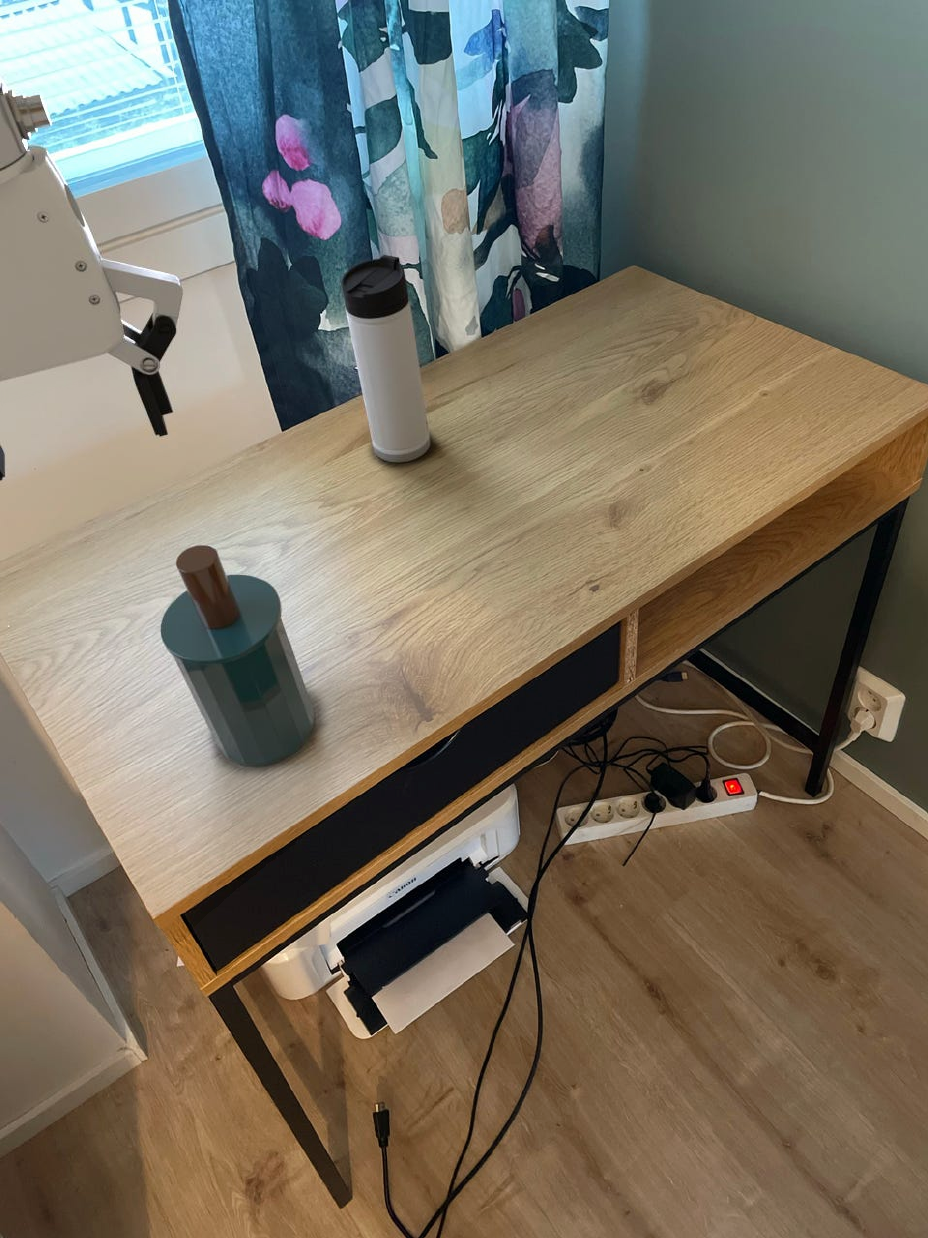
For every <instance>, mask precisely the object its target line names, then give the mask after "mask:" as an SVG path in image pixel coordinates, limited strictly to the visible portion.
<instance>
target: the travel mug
mask: <svg viewBox="0 0 928 1238" xmlns="http://www.w3.org/2000/svg"><path fill="white" fill-rule="evenodd" d="M406 279H407V278H406V272H405V267H404V266H403V264H402V263H401V261H400V257H398V256H394V255H388V254H383V255H381V256H379V258H373V259H369V260H365V261H362V262H360V263H358V264H356V265H354V266H353V267H351V268H350V269H348V270H347V271H346V272H345V273H344V274H343V276H342V278H341V281H340V286H341V292H342V297H343V300H344V306H345V313H346V319H347V323H348V329H349V333H350V334H349V335H350V339H351V343H352V344H351V345H352V348H353V352H354V359H355V363H356V369H357V374H358V379H359V383H360V387H361V388H360V389H361V392H362V398H363V402H364V403H363V404H364V406H365V407H364V408H365V412H366V417H367V423H368V427H369V431H370V436H371V442H372V447H373V452H374V453H375V455H376V456H377V457H378V458H379V459H381V460H383V461H386V462H390V463H407V462H411V461H413V460H416V459H418V458H420V457H422V456H423V455H424V454H425V453H426V452H427V451H428V450H429V449H430V446H431V437H430V431H429V430H430V429H429V424H428V422H429V421H428V416H427V409H426V402H425V396H424V390H423V382H422V377H421V367H420V362H419V355H418V350H417V349H418V347H417V342H416V336H415V329H414V322H413V313H412V308H411V302H410V297H409V292H408V286H407V280H406Z"/></svg>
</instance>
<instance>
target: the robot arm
mask: <svg viewBox="0 0 928 1238" xmlns="http://www.w3.org/2000/svg"><path fill="white" fill-rule="evenodd" d="M52 125H53V124H52V121H51V118H50V115H49V112H48V110H47V106H46V104H45V101H44V99H43V97H42V94H40V93H39V94H35V95H29V96H25V94H24V93H21V94H18V95H16V93H15V91H14V90H13V89H10V90H8V89H7V86H6V84H5V81H4V79H2V78H1V76H0V382H3V381H8V380H12V379H16V378H21V377H24V376H28V375H31V374H36V373H40V372H43V371H44V372H45V371H47V370H51V369H55V368H59V367H63V366H67V365H70V364H75V363H78V362H82V361H85V360H86V361H87V360H90V359H94V358H97V357H100V356H102V355H105V354H109V355H111V356H113V357H114V358H116V359H118V360H120V361H121V362H123V363H125V364H126V365H128V366H130V369H131V372H132V377H133V381H134V385H135V387H136V389H137V392H138V395H139V397H140V400H141V402H142V405H143V407H144V409H145V413H146V415H147V418H148V420H149V422H150V425H151V428H152V430H153V432H154V434H155V436H159V437H160V438H161V437H164V436H168V435H169V433H168V429H167V425H166V421H165V417H164V416H165V415H169V414H173V413H174V410H173V407H172V403H171V400H170V397H169V395H168V392H167V390H166V387H165V385H164V382H163V378H162V376H161V372H160V368H161V361H162V360H163V358H164V356H165V354H166V352H167V350H168V349H169V347H170V345H171V344H172V341H174V338H175V337H176V334H177V323H178V319H179V314H180V310H181V305H182V300H183V295H184V293H183V291H184V290H183V288H182V285H181V281H180V280H179V278H178V277H177V276H176V275H173V274H170V273H165V272H162V271H157V270H152V269H148V268H145V267H139V266H136V265H131V264H126V263H122V262H117V261H113V260H109V259H104V258H102V256H101V254H100V251H99V249H98V247H97V243H96V242H95V240H94V237H93V234H92V232H91V230H90V228H89V226H88V223H87V222H86V220H85V217H84V215H83V213H82V211H81V208H80V206H79V205H78V203H77V200H76V199H75V196H74V195H73V193H72V191H71V189H70V187H69V185H68V183H67V182H66V179H65V178H64V176H63V174H62V172H61V171H60V169H59V167H58V166H57V164H56V162H55V160H54V159H53V157H52V156H51V155H50V153H49V151H48V150H47V148H45V147H44V146H41V145H35V144H34V145H33V144H32V145H29V144H28V141H29V140H31V134H33V133H37V132H38V129H41V128H45V127H50V126H52ZM117 293H119V294H123V295H128V296H132V297H133V296H134V297H138V298H143V299H147V300H151V301H152V302H153V310H152V312H151V314H150V316H149V318H148V320H147V322H146V324H145V325H144V327H143V328H142V330H139V329H137V328H136V327H134V326H133V325H131V324H129V323H128V322H126V321H124V320H122V316H121V305H120V302H119V299H118V296H117V295H118V294H117ZM3 449H4V448H3V447H2V445H1V444H0V481H3V479H4V478H5V477H6V455H5V454H6V453H5V451H4V450H3Z"/></svg>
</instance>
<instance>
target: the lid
mask: <svg viewBox="0 0 928 1238" xmlns="http://www.w3.org/2000/svg"><path fill="white" fill-rule="evenodd" d="M175 566H176V569H177V571H178V573H179V575H180V578H181V580H182V582H183V584H184V587H185V589H186V590H185V591H183V592H182V593H181V594H179V595H178V596H177V597H176V598H175V599H174V600H173V602H171V604H170V605H169V606H168V608H167V609H166V610H165V612H164V614H163V616H162V619H161V623H160V629H159V630H160V637H161V640H162V643H163V645H164V647H165V648H166V650H167V651H168V653H170V654H171V655H172V657H173V656H175V657H176V658H178V659H180V660H181V661H184V662H187V663H191V664H196V665H215V664H222V663H226V662H230V661H233V660H236V659H238V658H241V657H243V656H245V655H247V654H249V653H251V652H252V651H254V650H256V649H257V648H258V647H260V646H261V645H262V644H263V643H264V642H265V641H267V640H268V639H269V637H270V636H271V635H272V634H273V632H274V631H275V629H276V628H277V626H278V624H279V621H280V618H281V619H282V613H283V612H282V611H283V607H282V602H281V598H280V596H279V593H278V591H277V590H276V589H275V588H274V586H273V585H272V584H270V583H269V582H268V581H266V580H264V579H262V578H260V577H257V576H254V575H249V574H240V573H239V574H238V573H237V574H235V573H233V574H227V573H226V571H225V568H224V565H223V563H222V561H221V558H220V556H219V552H218V551H217V549H216V548H215V547H214V546H211V545H209V544H197V545H193V546H190V547H187V548H185V550H183V551H182V552H180V554H179V555H178V556H177V558H176V561H175Z"/></svg>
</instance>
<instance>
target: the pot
mask: <svg viewBox="0 0 928 1238" xmlns="http://www.w3.org/2000/svg"><path fill="white" fill-rule="evenodd" d="M172 657H173V659H174V661H175V664H176V665H177V667H178V669H179V672H180V673H181V675H182V677H183V679H184V682H185V684H186V685H187V688H188V689H189V691H190V693H191V695H192V698H193V700H194V701H195V704H196V705H197V708H198V709H199V711H200V713H201V715H202V717H203V720H204V722H205V723H206V726H207V728H208V730H209V732H210V734H211V736H212V738H213V740H214V742H215V744H216V745H217V748H218V749H219V750H220V751H221V753H222V754H223V756H225V757H226V758H227V759H228V760H229V761H231V762H233V763H235V764H238V765H239V766H244V767H250V768H251V767H253V768H254V767H255V768H256V767H257V768H259V767H267V766H271V765H275V764H277V763H279V762H282V761H285V760H286V759H288V758H290V757H291V756H293V755H294V754H295V753H296V752H298V751H299V750H300V749H301V748H302V747H303V746H304V745H305V744H306V742H307V741H308V740H309V738H310V736H311V734H312V731H313V729H314V725H315V711H314V707H313V704H312V701H311V698H310V696H309V692H308V690H307V687H306V685H305V682H304V678H303V675H302V673H301V670H300V667H299V665H298V662H297V659H296V656H295V653H294V649H293V648H292V645H291V642H290V639H289V636H288V634H287V630H286V628H285V624H284V622H283V619H282V617H281V618H280V621H279V624H278V626H277V628H276V629H275V631H274V632H273V634H272V635H271V636H270V637H269V639H268V640H267V641H265V642H264V643H263V644H262V645H261V646H260V647H258V648H257V649H256V650H254V651H252V652H251V653H249V654H247V655H245V656H243V657H241V658H238V659H236V660H233V661H230V662H226V663H222V664H215V665H196V664H191V663H187V662H184V661H181V660H180V659H178V658H176V657H175V656H173V655H172Z"/></svg>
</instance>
